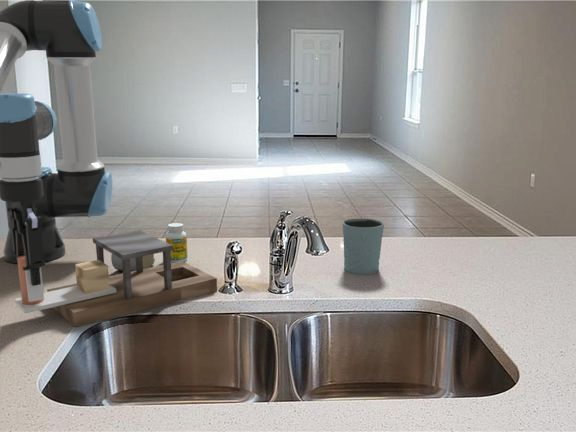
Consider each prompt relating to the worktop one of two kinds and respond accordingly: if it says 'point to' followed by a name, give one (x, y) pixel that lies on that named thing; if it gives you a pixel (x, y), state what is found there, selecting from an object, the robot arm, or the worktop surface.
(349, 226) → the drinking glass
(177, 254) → the supplement bottle
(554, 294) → the worktop surface
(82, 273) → the maple block
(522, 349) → the worktop surface
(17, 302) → the white plank with peg
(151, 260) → the ceramic mug
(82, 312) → the tunnel deck
